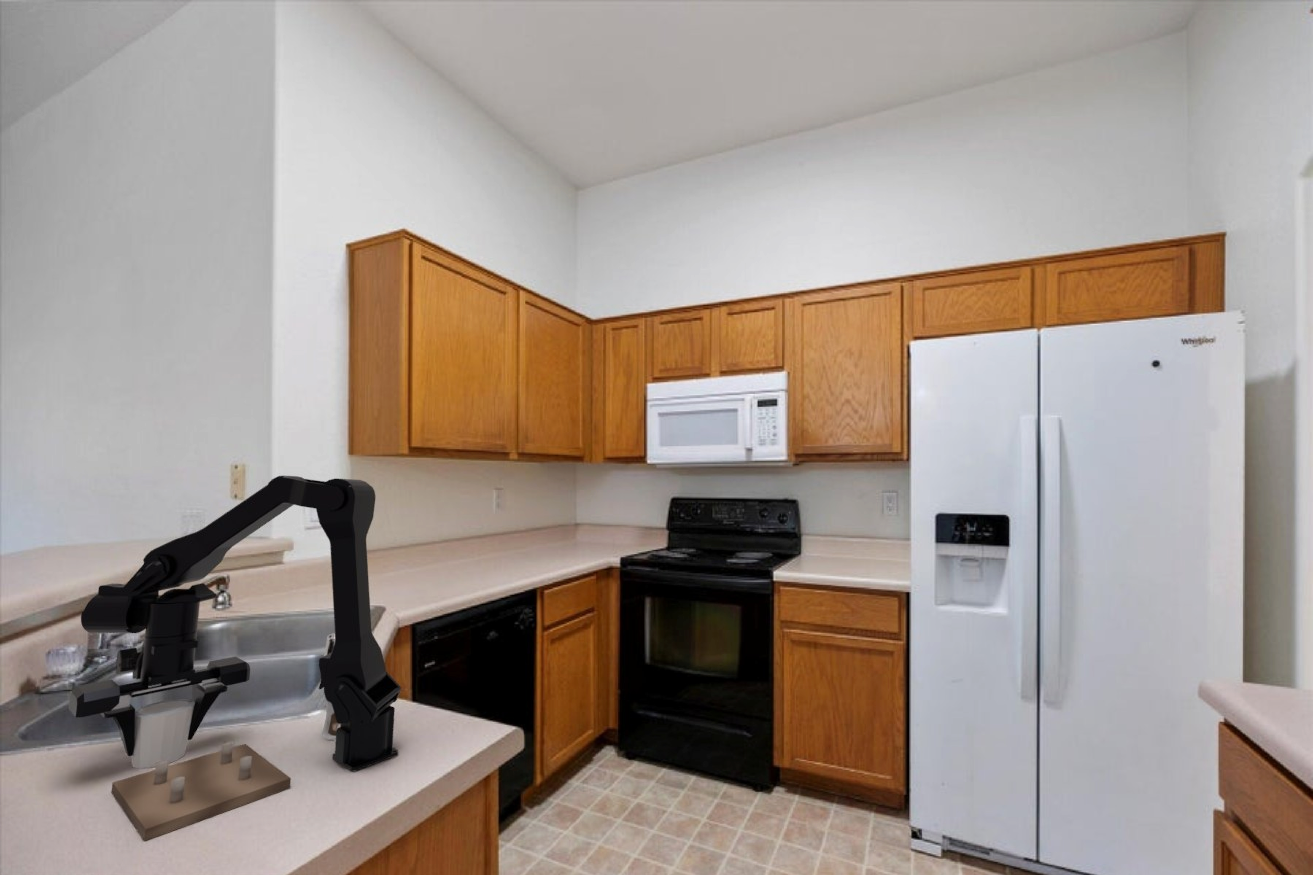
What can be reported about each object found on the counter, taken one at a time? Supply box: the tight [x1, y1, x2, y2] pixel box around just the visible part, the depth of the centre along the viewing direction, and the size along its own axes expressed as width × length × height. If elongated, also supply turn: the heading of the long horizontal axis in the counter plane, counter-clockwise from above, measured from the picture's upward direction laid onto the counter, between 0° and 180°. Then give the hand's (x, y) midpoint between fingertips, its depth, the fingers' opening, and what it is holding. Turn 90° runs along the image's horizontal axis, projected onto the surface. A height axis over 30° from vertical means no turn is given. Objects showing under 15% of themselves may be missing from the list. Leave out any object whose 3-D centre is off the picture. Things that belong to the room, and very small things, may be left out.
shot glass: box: [131, 698, 195, 769], centre depth 79 cm, size 7×7×7 cm
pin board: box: [111, 741, 292, 842], centre depth 71 cm, size 14×16×4 cm
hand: (160, 747), depth 79 cm, fingers closed on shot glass, 6 cm apart
